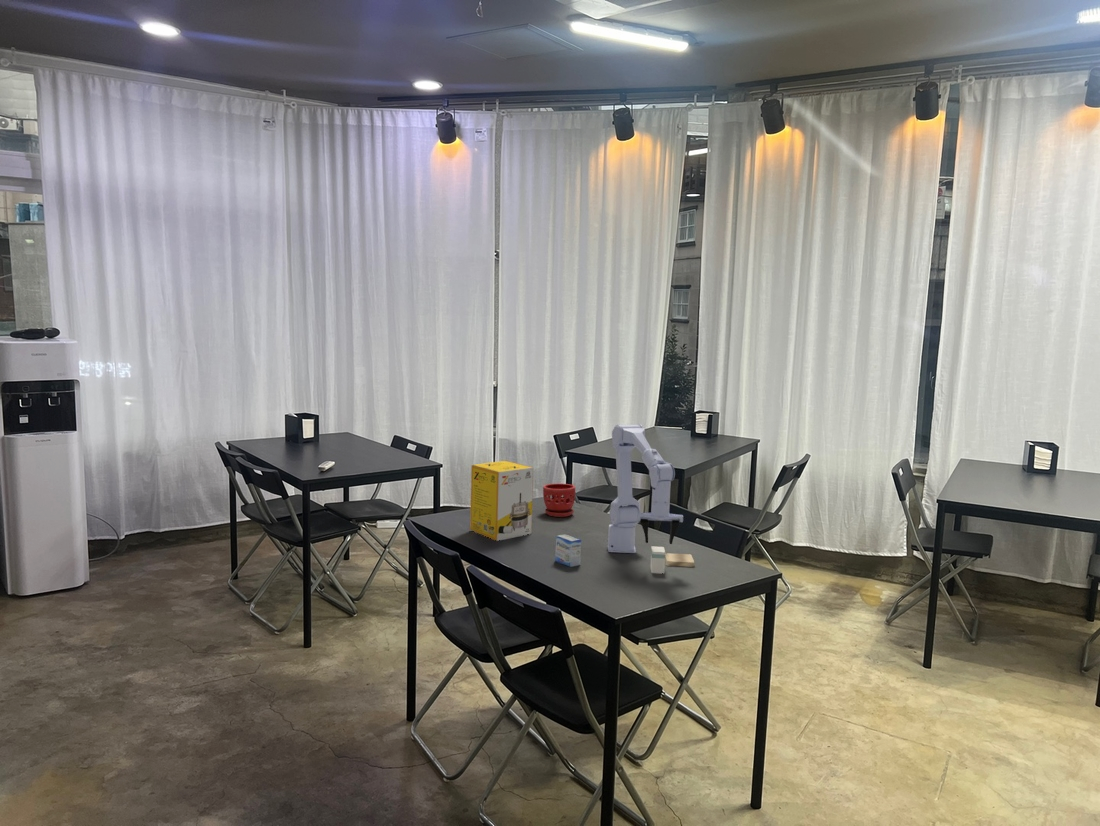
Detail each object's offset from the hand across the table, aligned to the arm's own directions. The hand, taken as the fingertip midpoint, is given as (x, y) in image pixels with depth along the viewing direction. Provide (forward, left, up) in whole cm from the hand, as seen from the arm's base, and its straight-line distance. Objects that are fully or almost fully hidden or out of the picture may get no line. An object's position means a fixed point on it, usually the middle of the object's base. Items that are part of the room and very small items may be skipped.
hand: (658, 542), depth 255 cm
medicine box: (-29, +3, -9) cm, 31 cm away
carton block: (0, 0, -9) cm, 9 cm away
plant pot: (-35, +67, -9) cm, 76 cm away
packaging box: (-55, +36, -9) cm, 66 cm away
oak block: (+8, +10, -10) cm, 16 cm away
